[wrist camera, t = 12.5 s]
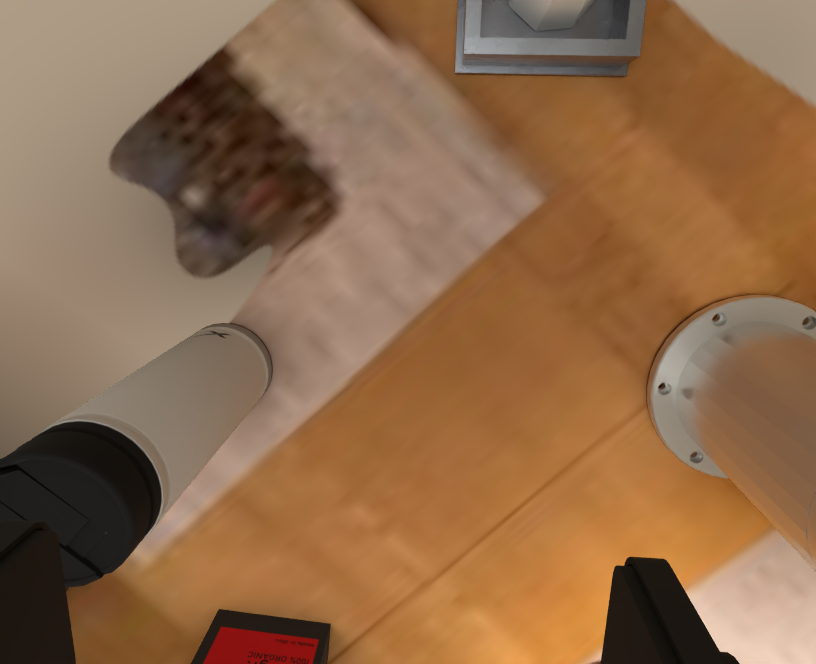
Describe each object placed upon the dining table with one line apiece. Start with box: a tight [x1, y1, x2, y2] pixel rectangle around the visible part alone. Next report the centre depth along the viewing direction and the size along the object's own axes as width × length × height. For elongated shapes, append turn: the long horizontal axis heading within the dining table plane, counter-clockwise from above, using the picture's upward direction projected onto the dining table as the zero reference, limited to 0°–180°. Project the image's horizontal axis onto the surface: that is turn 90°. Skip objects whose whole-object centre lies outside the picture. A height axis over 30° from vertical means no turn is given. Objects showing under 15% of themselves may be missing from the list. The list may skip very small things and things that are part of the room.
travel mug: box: [0, 323, 272, 587], centre depth 32 cm, size 6×7×20 cm
